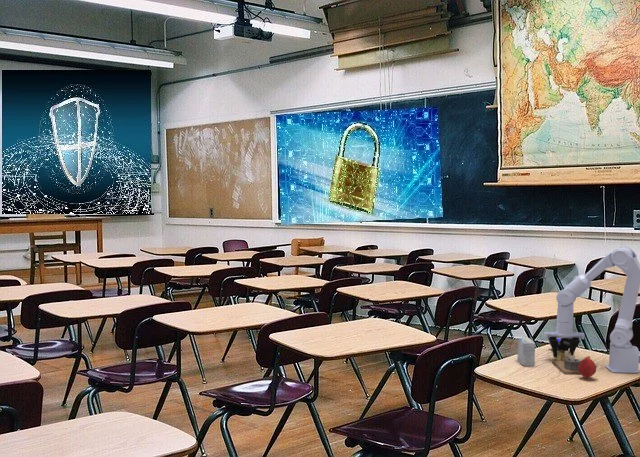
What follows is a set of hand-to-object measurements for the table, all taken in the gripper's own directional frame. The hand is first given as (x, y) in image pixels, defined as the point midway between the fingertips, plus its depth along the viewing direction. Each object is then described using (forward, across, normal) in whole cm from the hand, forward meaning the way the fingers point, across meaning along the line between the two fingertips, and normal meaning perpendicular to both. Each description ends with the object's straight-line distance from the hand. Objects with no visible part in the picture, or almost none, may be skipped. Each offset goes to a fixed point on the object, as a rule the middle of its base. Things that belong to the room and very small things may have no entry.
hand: (562, 357), depth 276 cm
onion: (+2, -1, +22) cm, 22 cm away
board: (+1, 0, +10) cm, 11 cm away
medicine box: (+2, +15, +4) cm, 16 cm away
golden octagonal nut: (+1, 0, 0) cm, 1 cm away
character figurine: (+2, -2, -10) cm, 11 cm away
